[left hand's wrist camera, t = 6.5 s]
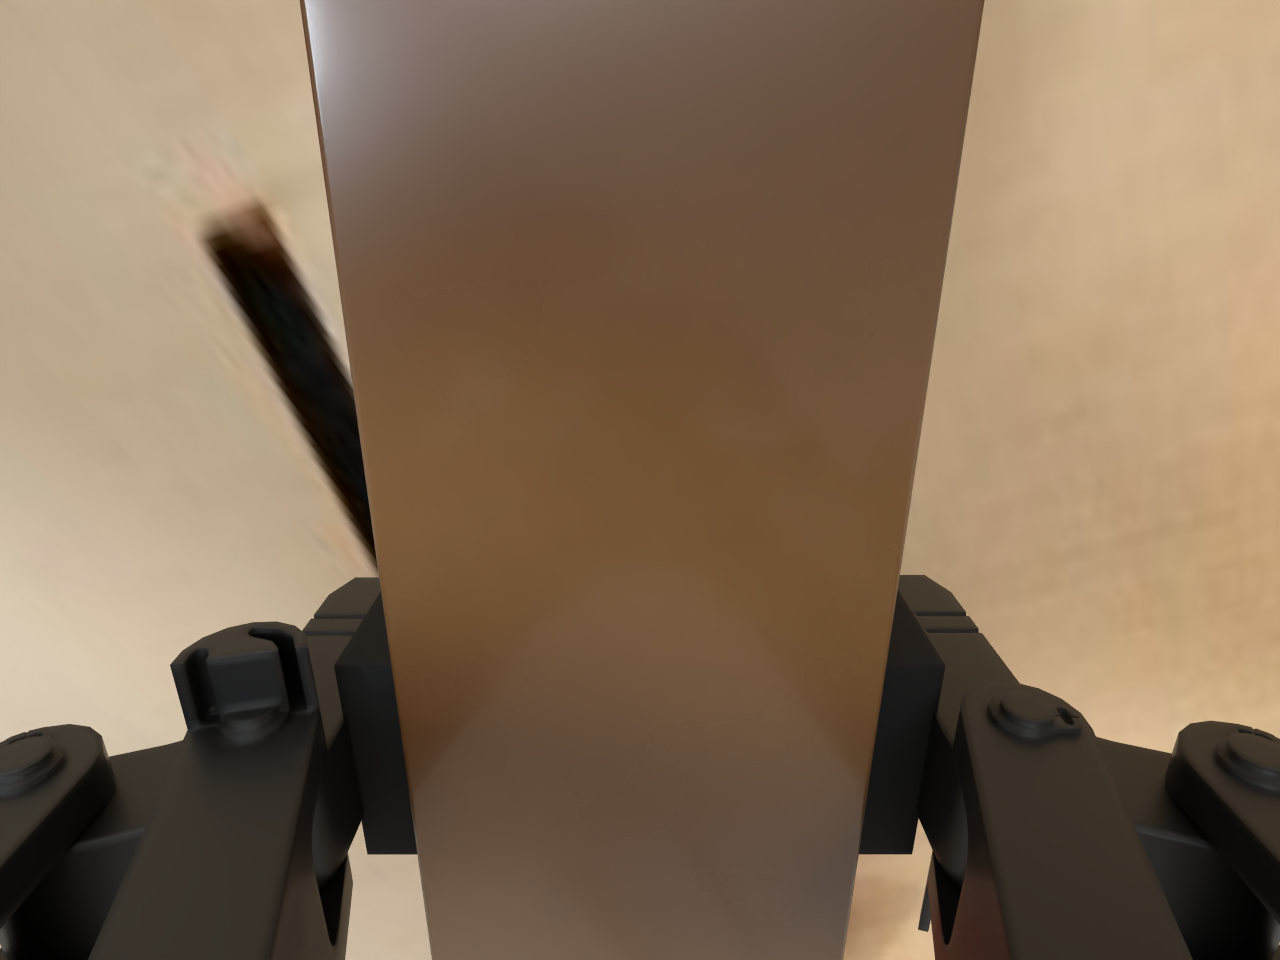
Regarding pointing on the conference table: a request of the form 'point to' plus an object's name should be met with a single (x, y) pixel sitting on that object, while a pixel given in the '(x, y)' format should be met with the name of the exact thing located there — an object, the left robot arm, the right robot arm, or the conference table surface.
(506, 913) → the post
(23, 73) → the conference table surface
